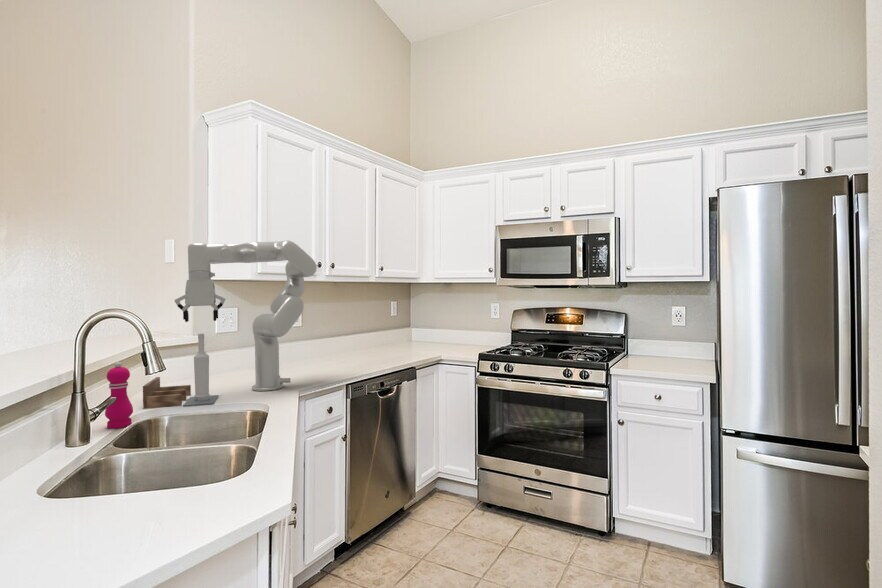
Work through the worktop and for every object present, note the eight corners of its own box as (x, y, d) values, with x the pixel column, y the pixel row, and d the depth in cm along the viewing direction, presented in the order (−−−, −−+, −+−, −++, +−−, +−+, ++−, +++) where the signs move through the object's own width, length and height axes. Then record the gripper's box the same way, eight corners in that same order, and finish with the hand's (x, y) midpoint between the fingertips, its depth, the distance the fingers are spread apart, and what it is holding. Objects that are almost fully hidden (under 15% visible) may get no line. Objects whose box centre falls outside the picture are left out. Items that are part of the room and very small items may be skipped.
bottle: (203, 401, 174) (202, 334, 174) (191, 401, 175) (190, 334, 175) (212, 398, 179) (211, 333, 179) (200, 397, 180) (199, 333, 180)
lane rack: (190, 394, 188) (190, 374, 188) (181, 405, 171) (180, 383, 171) (156, 397, 185) (156, 377, 184) (143, 408, 167) (142, 386, 167)
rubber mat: (218, 396, 185) (218, 394, 185) (213, 404, 172) (213, 402, 172) (190, 398, 182) (190, 396, 182) (182, 406, 169) (182, 405, 169)
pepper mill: (119, 429, 142) (117, 364, 142) (99, 428, 143) (97, 363, 143) (139, 423, 149) (137, 360, 149) (119, 422, 150) (118, 360, 150)
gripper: (225, 276, 184) (226, 319, 184) (176, 276, 178) (177, 321, 179) (223, 275, 177) (224, 320, 177) (171, 276, 171) (173, 322, 172)
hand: (201, 321), depth 178 cm, fingers open, 9 cm apart
